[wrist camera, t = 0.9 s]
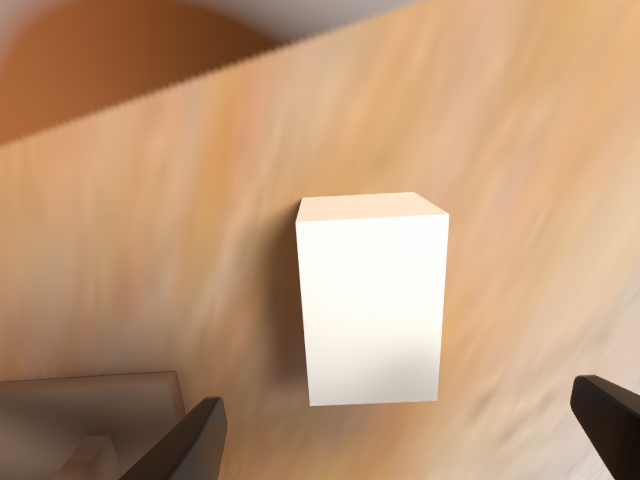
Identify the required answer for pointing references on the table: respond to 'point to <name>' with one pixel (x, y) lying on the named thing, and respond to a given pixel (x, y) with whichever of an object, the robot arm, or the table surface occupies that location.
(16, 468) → the rack
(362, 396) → the white rectangular block
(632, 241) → the table surface
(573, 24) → the table surface
